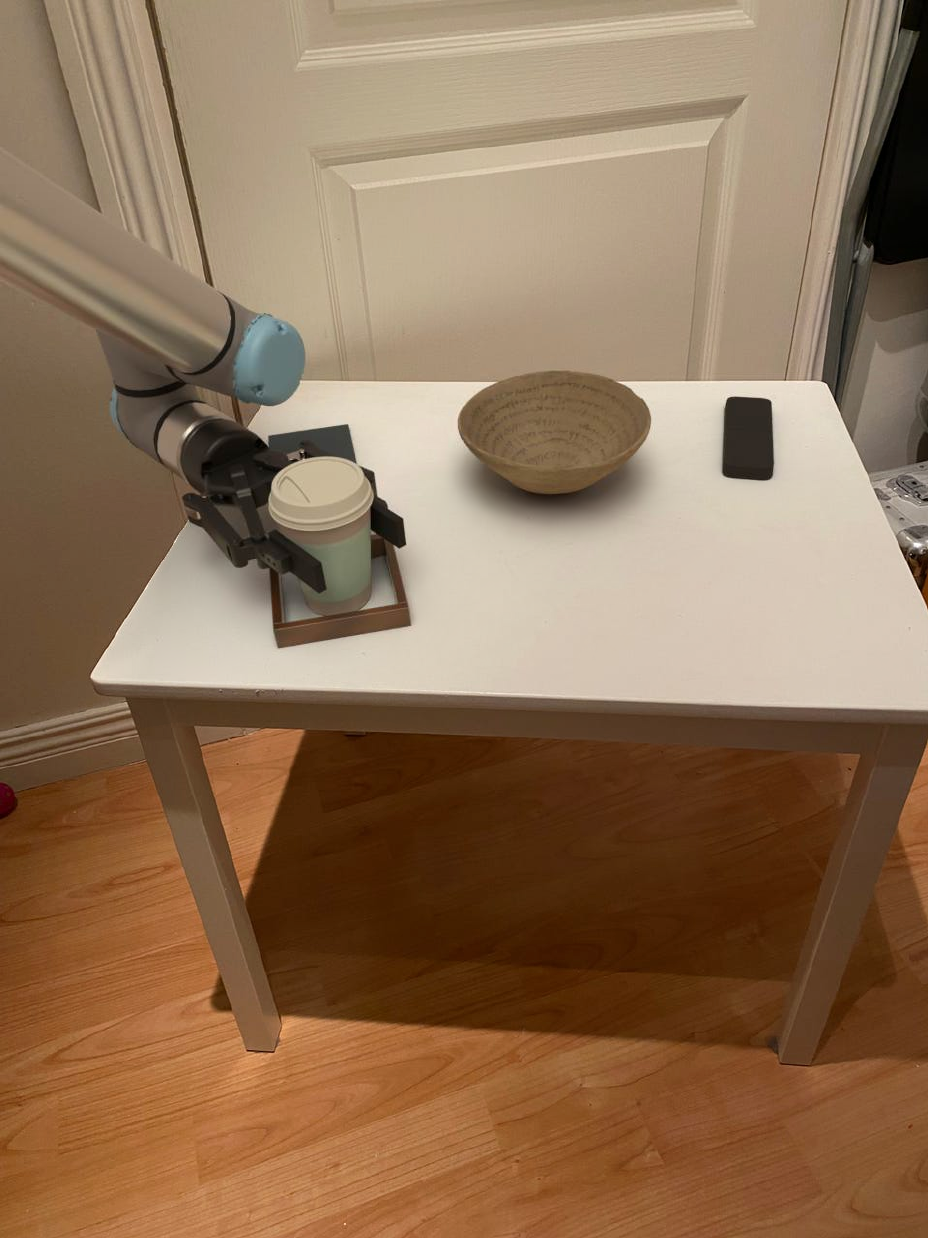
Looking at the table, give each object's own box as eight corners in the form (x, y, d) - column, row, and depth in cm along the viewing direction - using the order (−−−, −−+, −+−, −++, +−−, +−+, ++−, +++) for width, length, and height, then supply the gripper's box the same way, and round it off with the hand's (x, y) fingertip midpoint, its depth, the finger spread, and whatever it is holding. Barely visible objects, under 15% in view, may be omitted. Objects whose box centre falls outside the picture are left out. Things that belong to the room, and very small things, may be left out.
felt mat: (272, 481, 98) (271, 476, 98) (268, 439, 105) (267, 435, 104) (357, 469, 99) (356, 464, 99) (348, 428, 106) (348, 423, 105)
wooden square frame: (277, 648, 78) (273, 630, 77) (272, 568, 86) (267, 551, 85) (411, 625, 79) (408, 607, 78) (392, 548, 88) (390, 531, 86)
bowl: (455, 536, 89) (449, 463, 83) (466, 438, 103) (462, 370, 97) (652, 535, 87) (659, 461, 82) (637, 435, 101) (642, 366, 96)
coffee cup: (299, 567, 86) (275, 453, 79) (391, 565, 86) (376, 451, 78) (282, 628, 80) (254, 511, 72) (381, 626, 79) (364, 509, 72)
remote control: (771, 485, 93) (770, 407, 104) (774, 470, 92) (772, 393, 103) (721, 481, 94) (724, 404, 105) (723, 466, 93) (726, 390, 104)
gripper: (310, 449, 96) (458, 539, 83) (129, 533, 86) (264, 651, 73) (297, 381, 91) (453, 465, 78) (104, 463, 81) (244, 575, 68)
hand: (361, 555), depth 76 cm, fingers closed on coffee cup, 7 cm apart
